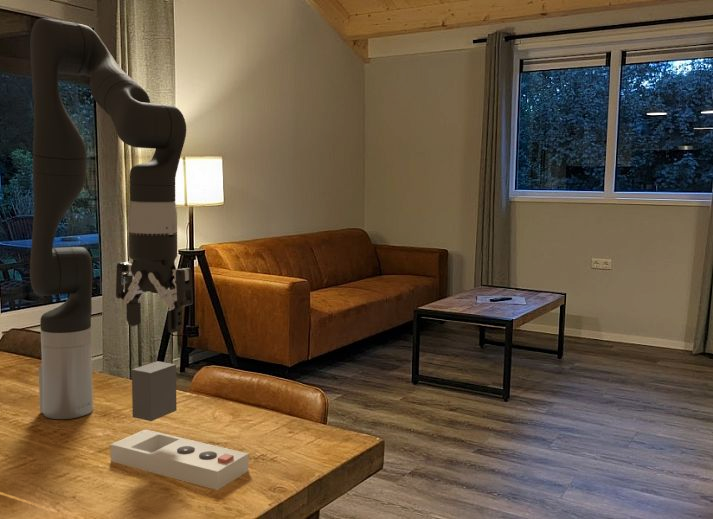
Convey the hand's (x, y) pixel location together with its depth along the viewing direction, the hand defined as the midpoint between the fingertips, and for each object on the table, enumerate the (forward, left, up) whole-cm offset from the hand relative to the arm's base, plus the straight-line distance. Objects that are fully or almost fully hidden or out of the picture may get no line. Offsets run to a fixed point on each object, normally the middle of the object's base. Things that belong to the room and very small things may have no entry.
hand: (154, 328), depth 114 cm
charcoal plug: (0, 0, -15) cm, 15 cm away
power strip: (+5, 0, -23) cm, 23 cm away
